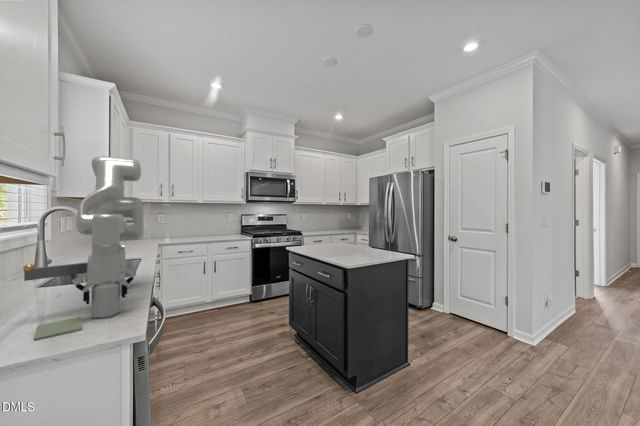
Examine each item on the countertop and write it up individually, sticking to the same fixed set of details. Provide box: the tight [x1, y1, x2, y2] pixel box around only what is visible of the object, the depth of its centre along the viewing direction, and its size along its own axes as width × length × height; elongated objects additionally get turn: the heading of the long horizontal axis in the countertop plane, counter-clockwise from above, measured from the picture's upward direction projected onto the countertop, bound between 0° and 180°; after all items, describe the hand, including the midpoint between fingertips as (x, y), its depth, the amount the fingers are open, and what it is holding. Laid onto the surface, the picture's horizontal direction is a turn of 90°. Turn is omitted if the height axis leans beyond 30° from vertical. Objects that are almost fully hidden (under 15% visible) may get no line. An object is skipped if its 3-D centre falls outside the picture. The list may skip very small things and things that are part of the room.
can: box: [91, 281, 121, 319], centre depth 93 cm, size 8×8×12 cm
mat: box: [33, 316, 83, 341], centre depth 82 cm, size 12×10×1 cm
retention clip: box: [22, 262, 87, 282], centre depth 94 cm, size 22×3×17 cm, turn 138°
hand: (106, 299), depth 92 cm, fingers open, 9 cm apart
